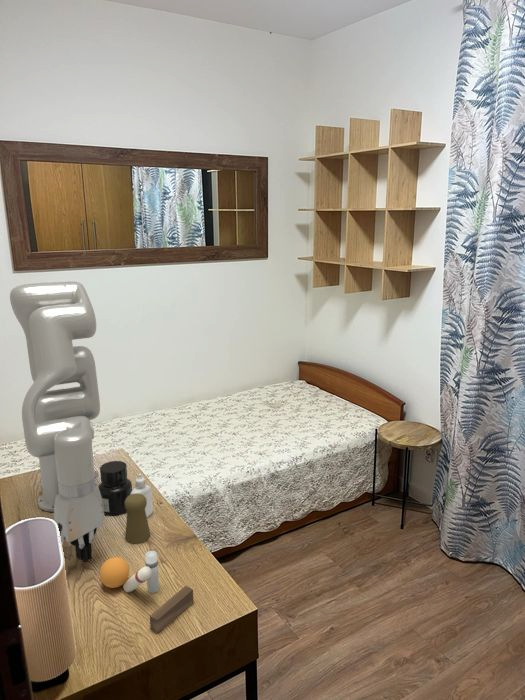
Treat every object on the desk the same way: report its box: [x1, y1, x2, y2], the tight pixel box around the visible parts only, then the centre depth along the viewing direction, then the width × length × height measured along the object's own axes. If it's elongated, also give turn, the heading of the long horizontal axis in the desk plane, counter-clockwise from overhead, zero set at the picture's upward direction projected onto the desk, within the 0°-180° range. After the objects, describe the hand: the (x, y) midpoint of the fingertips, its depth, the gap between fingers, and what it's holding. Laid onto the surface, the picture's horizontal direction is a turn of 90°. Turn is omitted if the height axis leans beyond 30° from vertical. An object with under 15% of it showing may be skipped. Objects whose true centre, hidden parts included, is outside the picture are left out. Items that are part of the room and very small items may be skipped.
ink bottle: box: [98, 460, 133, 516], centre depth 139 cm, size 10×9×12 cm
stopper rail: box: [149, 585, 195, 634], centre depth 103 cm, size 2×10×3 cm, turn 145°
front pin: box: [122, 565, 152, 593], centre depth 107 cm, size 2×2×8 cm
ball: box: [99, 556, 130, 589], centre depth 111 cm, size 6×6×6 cm
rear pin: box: [144, 550, 160, 594], centre depth 109 cm, size 2×2×8 cm
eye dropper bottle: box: [130, 473, 154, 518], centre depth 135 cm, size 4×6×12 cm
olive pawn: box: [124, 493, 151, 545], centre depth 126 cm, size 6×6×11 cm
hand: (84, 558), depth 117 cm, fingers closed
